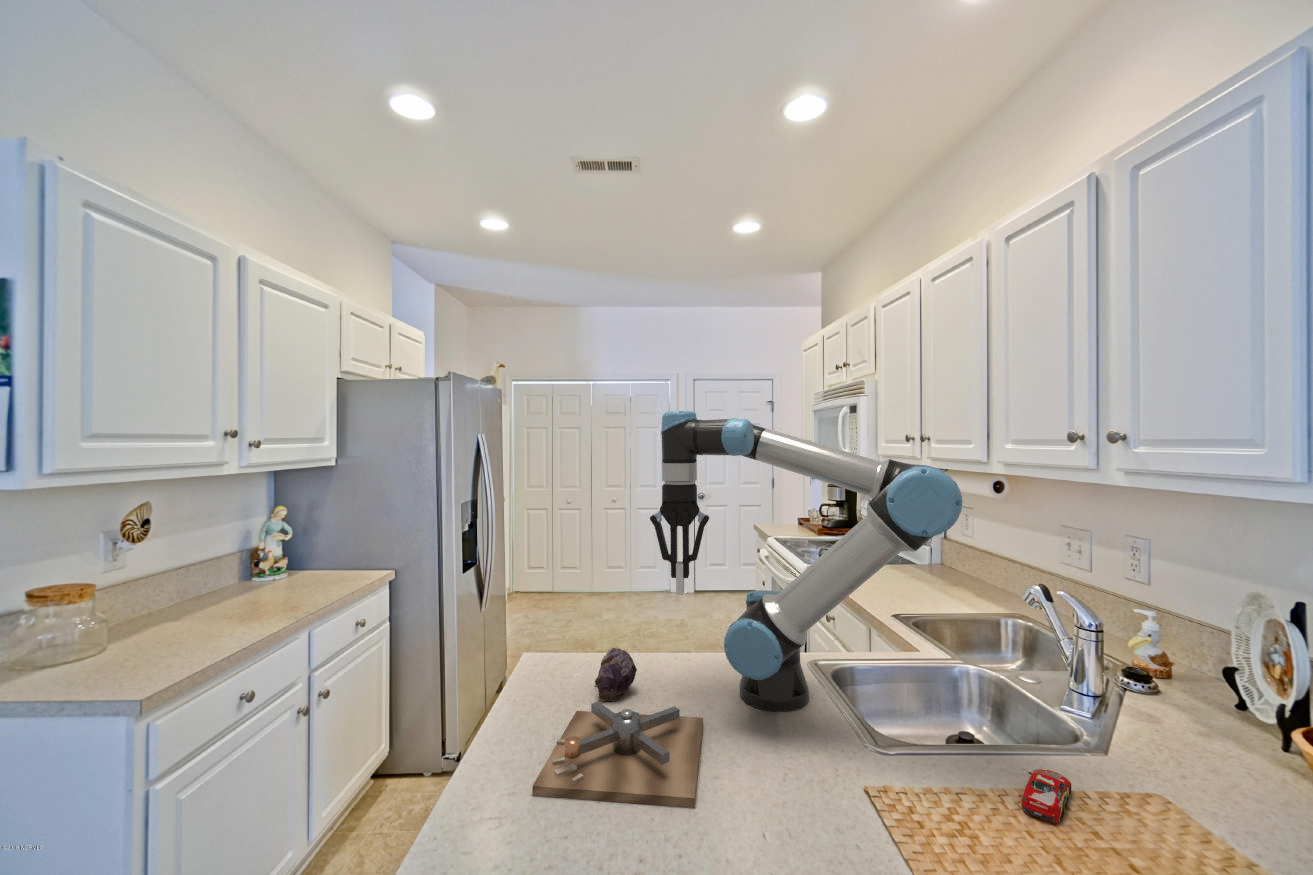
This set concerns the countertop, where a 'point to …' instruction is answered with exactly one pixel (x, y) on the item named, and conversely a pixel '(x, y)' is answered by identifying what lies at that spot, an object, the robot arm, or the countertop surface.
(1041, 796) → the race car
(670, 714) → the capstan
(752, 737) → the countertop surface
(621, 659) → the rock
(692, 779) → the board
